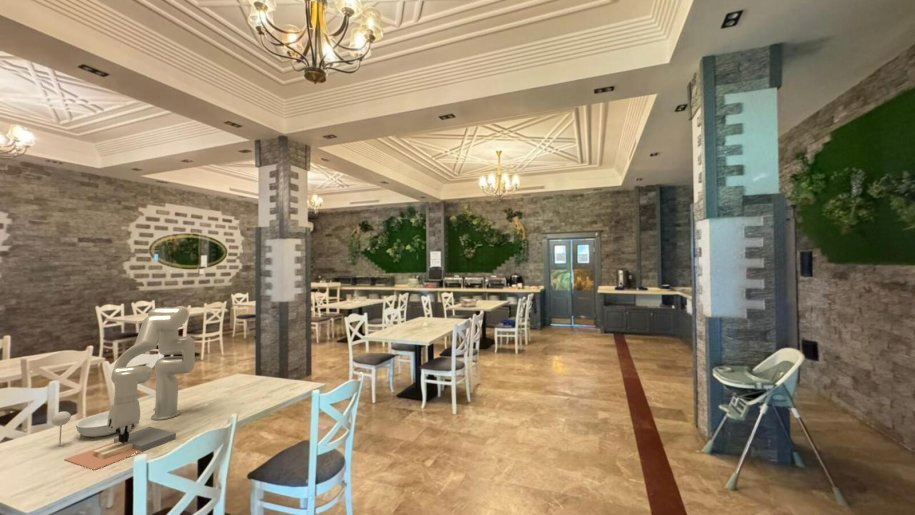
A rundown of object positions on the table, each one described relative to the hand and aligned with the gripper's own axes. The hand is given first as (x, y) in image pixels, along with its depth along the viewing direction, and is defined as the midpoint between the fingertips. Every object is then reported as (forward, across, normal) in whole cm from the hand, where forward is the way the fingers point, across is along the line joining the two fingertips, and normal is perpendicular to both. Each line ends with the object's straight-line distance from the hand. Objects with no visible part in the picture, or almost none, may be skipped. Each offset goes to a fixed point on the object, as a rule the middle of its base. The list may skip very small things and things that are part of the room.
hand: (123, 441), depth 160 cm
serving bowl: (+4, -8, -29) cm, 30 cm away
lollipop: (+3, +8, -30) cm, 31 cm away
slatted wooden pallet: (+3, +4, 0) cm, 5 cm away
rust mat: (+3, +7, 0) cm, 7 cm away
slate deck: (+3, -8, 0) cm, 9 cm away
